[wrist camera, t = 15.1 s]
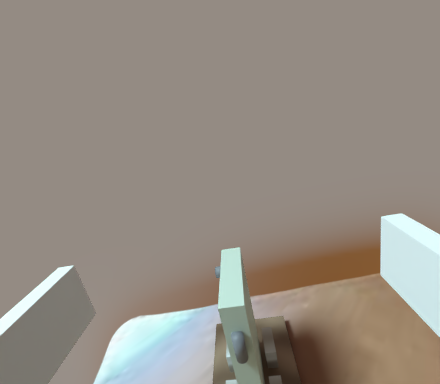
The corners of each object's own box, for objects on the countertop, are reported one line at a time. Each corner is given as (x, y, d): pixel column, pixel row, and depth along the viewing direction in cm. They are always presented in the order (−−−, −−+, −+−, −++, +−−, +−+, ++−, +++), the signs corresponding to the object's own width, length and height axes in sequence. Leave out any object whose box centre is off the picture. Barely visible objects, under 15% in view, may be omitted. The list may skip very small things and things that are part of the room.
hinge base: (331, 501, 22) (328, 474, 21) (208, 506, 23) (198, 480, 22) (284, 322, 41) (281, 302, 40) (218, 330, 42) (213, 311, 41)
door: (272, 439, 26) (245, 314, 20) (239, 441, 26) (204, 319, 21) (259, 346, 36) (239, 247, 31) (236, 348, 36) (212, 251, 31)
